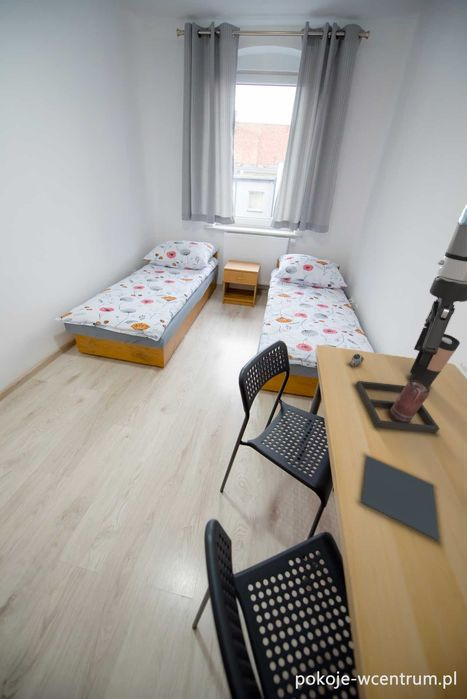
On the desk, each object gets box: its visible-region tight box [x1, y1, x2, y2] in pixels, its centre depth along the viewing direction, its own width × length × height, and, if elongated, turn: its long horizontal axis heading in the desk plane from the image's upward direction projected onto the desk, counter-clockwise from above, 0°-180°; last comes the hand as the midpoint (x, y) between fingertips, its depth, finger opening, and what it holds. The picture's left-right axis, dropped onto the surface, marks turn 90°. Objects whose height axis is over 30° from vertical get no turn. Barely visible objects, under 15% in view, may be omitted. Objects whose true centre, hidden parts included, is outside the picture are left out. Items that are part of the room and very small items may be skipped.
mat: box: [361, 455, 439, 542], centre depth 68 cm, size 16×14×1 cm
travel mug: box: [408, 333, 461, 387], centre depth 100 cm, size 8×8×20 cm
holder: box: [355, 380, 441, 435], centre depth 92 cm, size 19×19×2 cm
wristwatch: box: [349, 353, 365, 367], centre depth 109 cm, size 4×6×5 cm, turn 118°
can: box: [388, 380, 431, 423], centre depth 85 cm, size 6×6×14 cm
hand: (418, 361), depth 70 cm, fingers open, 13 cm apart
